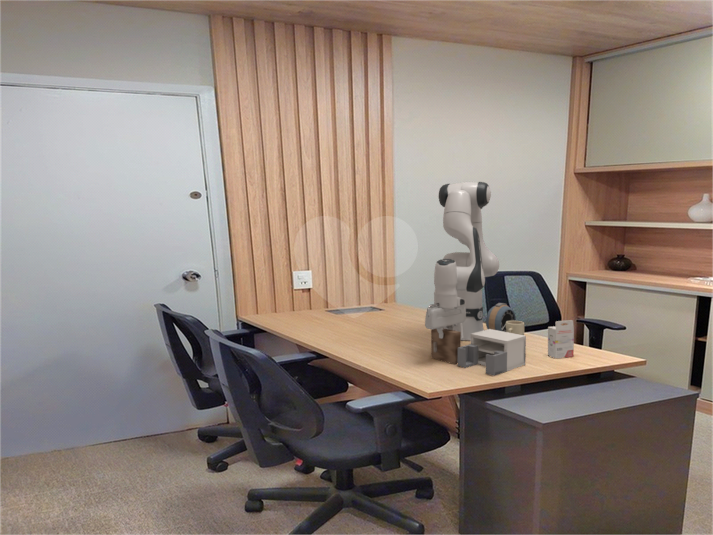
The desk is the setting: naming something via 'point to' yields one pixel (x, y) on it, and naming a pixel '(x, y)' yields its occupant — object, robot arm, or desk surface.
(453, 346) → the wooden block
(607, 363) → the desk surface
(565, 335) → the ink cartridge box
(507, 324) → the character mug
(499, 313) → the alarm clock
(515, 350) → the cabinet
